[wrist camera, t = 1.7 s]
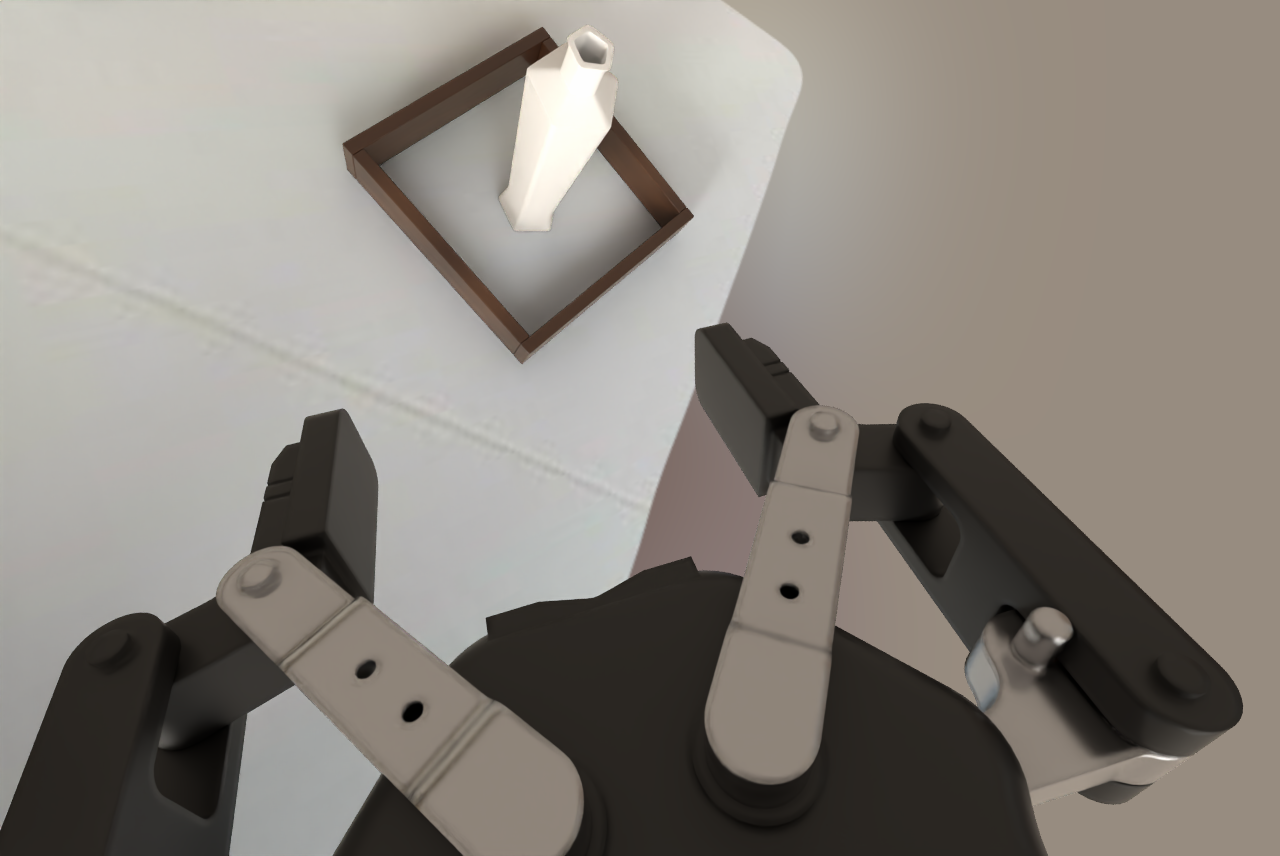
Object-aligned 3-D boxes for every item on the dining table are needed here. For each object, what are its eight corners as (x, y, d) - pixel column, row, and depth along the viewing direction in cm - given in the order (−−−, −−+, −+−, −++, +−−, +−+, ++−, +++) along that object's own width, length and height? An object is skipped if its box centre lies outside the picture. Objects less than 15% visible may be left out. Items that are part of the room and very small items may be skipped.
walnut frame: (346, 169, 36) (342, 143, 34) (534, 55, 42) (542, 26, 39) (521, 364, 39) (529, 354, 36) (677, 233, 44) (694, 216, 41)
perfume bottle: (556, 174, 41) (631, 4, 27) (566, 235, 41) (647, 96, 27) (489, 171, 39) (532, -11, 26) (498, 235, 39) (547, 86, 25)
